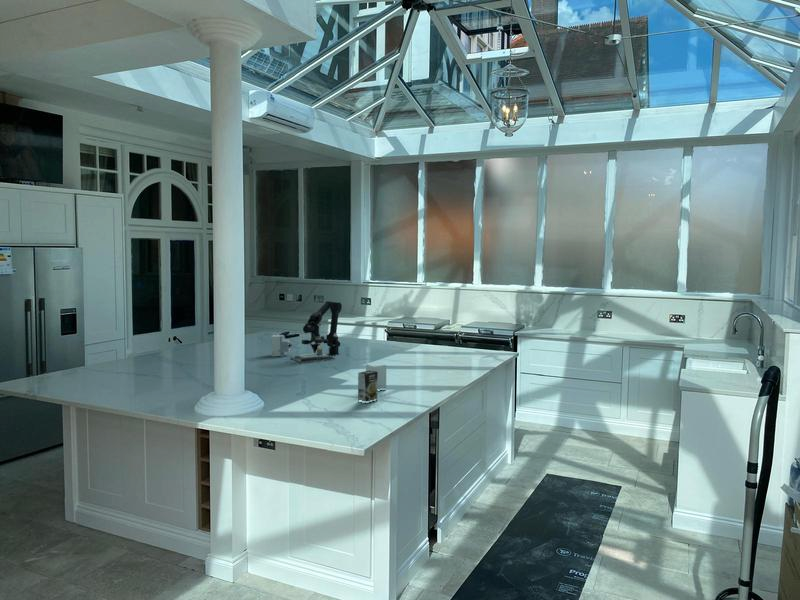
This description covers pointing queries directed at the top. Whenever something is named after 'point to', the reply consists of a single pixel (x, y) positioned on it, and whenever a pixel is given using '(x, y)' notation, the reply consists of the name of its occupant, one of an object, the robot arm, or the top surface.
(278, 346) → the circuit breaker
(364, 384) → the coffee box
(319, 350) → the breaker lever
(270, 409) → the top surface
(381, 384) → the supplement box
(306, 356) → the breaker panel
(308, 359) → the gray flat tray
